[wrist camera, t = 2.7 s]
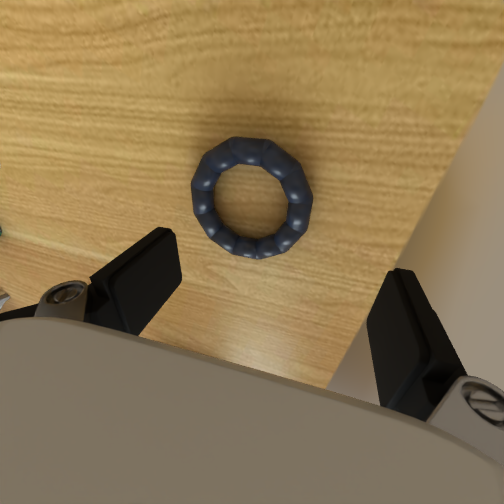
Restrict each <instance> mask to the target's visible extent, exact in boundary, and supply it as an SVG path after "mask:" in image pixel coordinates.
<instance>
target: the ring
mask: <svg viewBox="0 0 504 504" xmlns="http://www.w3.org/2000/svg"><path fill="white" fill-rule="evenodd" d="M237 164H245V165H254V166H261V167H262V168H263V169H265V170H266V171H267V172H269V173H270V174H271V175H273V176H274V177H275V178H277V179H278V180H279V181H280V183H281V185H282V188H283V190H284V192H285V195H286V197H287V199H288V208H287V216H286V221H285V222H284V223H283V224H282V226H281V227H280V228H279V229H278V230H277V232H276V233H275V234H272V235H269V236H266V237H263V238H260V239H255V238H249V237H244V236H239V235H238V234H237V233H235V232H234V231H232V230H231V229H230V228H228V227H227V226H225V225H224V224H223V222H222V220H221V218H220V217H219V215H218V213H217V211H216V210H215V208H214V194H213V188H214V186H215V184H216V182H217V181H218V179H219V177H220V175H221V173H222V172H224V171H226V170H228V169H230V168H232V167H233V166H235V165H237ZM191 193H192V202H193V212H194V214H195V216H196V218H197V220H198V221H199V223H200V224H201V226H202V228H203V229H204V231H205V233H206V234H207V236H208V237H209V238H210V239H211V240H212V241H214V242H215V243H217V244H218V245H219V246H221V247H222V248H224V249H225V250H226V251H228V252H229V253H231V254H233V255H238V256H243V257H248V258H253V259H264V258H267V257H271V256H275V255H278V254H282V253H285V252H287V251H288V250H289V249H290V248H291V247H292V246H293V245H294V244H295V243H296V242H297V241H298V240H299V239H300V237H301V236H302V235H303V234H304V233H305V232H306V231H307V229H308V225H309V219H310V214H311V209H312V203H313V194H312V192H311V189H310V186H309V184H308V181H307V179H306V176H305V174H304V171H303V168H302V166H301V164H300V163H299V162H298V161H297V160H296V159H295V158H293V157H292V156H291V155H290V154H288V153H287V152H286V151H284V150H283V149H282V148H280V147H279V146H278V145H277V144H275V143H274V142H273V141H271V140H269V139H259V138H248V137H231V138H229V139H228V140H226V141H224V142H223V143H221V144H219V145H218V146H216V147H214V148H213V149H211V150H209V151H207V152H206V153H205V154H204V155H203V156H202V159H201V161H200V163H199V165H198V167H197V170H196V172H195V174H194V176H193V178H192V181H191Z"/></svg>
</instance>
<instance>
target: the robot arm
mask: <svg viewBox="0 0 504 504" xmlns="http://www.w3.org/2000/svg"><path fill="white" fill-rule="evenodd" d="M89 278H90V280H91V282H92V283H91V284H89V285H87V284H86V283H85V282H83V281H78V280H74V281H67V282H64V283H60V284H58V285H56V286H54V287H52V288H50V289H49V290H47V291H46V292H45V293H44V294H43V296H42V297H41V299H40V301H39V303H38V304H34V305H31V306H27V307H23V308H20V309H16V310H12V311H8V312H5V313H1V314H0V504H504V392H503V391H502V390H501V389H499V388H498V387H497V386H495V385H493V384H491V383H490V382H488V381H486V380H483V379H481V378H478V377H474V376H468V375H467V373H466V371H465V369H464V367H463V365H462V363H461V361H460V359H459V357H458V355H457V353H456V351H455V349H454V348H453V345H452V344H451V341H450V340H449V338H448V336H447V334H446V332H445V330H444V328H443V326H442V324H441V322H440V320H439V318H438V316H437V314H436V312H435V311H434V310H433V309H432V307H431V305H430V304H429V301H428V299H427V297H426V295H425V293H424V291H423V289H422V287H421V285H420V283H419V281H418V280H417V278H416V275H415V273H414V272H413V271H411V270H405V269H400V268H395V269H394V270H393V271H388V273H387V275H386V277H385V279H384V282H383V284H382V286H381V288H380V291H379V293H378V295H377V297H376V299H375V302H374V304H373V306H372V308H371V311H370V313H369V315H368V318H367V331H368V337H369V343H370V348H371V354H372V360H373V366H374V372H375V378H376V383H377V389H378V395H379V401H380V406H378V405H375V404H372V403H369V402H365V401H362V400H359V399H355V398H352V397H349V396H346V395H342V394H339V393H336V392H332V391H329V390H326V389H322V388H319V387H315V386H312V385H308V384H305V383H301V382H298V381H294V380H291V379H288V378H284V377H281V376H277V375H274V374H270V373H267V372H263V371H260V370H256V369H253V368H249V367H246V366H242V365H239V364H235V363H232V362H228V361H225V360H221V359H218V358H214V357H211V356H207V355H204V354H200V353H196V352H193V351H189V350H186V349H182V348H179V347H175V346H172V345H168V344H164V343H161V342H157V341H154V340H150V339H146V338H143V337H139V336H138V335H139V334H140V333H141V332H142V330H143V329H144V328H145V327H146V325H147V324H148V323H149V322H150V321H151V319H152V318H153V317H154V316H155V314H156V313H157V312H158V311H159V309H160V308H161V307H162V306H163V304H164V303H165V302H166V301H167V300H168V298H169V297H170V296H171V295H172V293H173V292H174V291H175V290H176V288H177V287H178V286H179V285H180V283H181V281H182V273H181V267H180V261H179V254H178V248H177V242H176V235H175V233H174V232H172V230H171V229H169V228H163V227H157V228H156V229H154V230H153V231H151V232H150V233H149V234H147V235H146V236H145V237H143V238H142V239H141V240H139V241H138V242H137V243H135V244H134V245H132V246H131V247H130V248H128V249H127V250H126V251H124V252H123V253H122V254H120V255H119V256H118V257H116V258H115V259H114V260H112V261H111V262H109V263H108V264H107V265H105V266H104V267H103V268H101V269H100V270H99V271H97V272H96V273H95V274H93V275H92V276H90V277H89Z"/></svg>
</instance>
